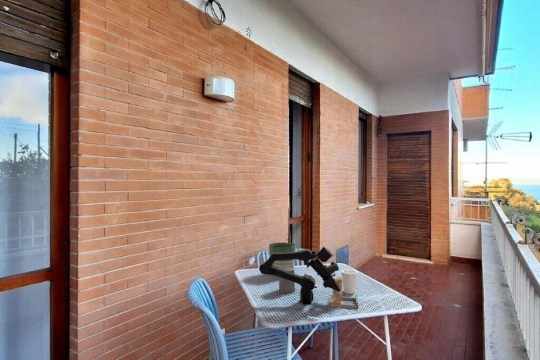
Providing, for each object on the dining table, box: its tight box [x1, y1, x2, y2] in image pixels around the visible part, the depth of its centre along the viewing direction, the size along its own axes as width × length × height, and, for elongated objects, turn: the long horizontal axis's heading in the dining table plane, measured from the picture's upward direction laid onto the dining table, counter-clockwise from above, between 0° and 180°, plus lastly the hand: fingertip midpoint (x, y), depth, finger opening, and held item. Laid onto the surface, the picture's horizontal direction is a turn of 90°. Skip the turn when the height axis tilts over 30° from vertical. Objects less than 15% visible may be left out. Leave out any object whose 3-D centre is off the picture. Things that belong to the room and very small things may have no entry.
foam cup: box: [341, 269, 359, 295], centre depth 191 cm, size 10×9×13 cm
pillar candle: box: [278, 267, 296, 294], centre depth 197 cm, size 10×10×15 cm
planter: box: [268, 242, 297, 269], centre depth 232 cm, size 20×20×21 cm
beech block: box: [332, 275, 343, 302], centre depth 174 cm, size 5×5×12 cm
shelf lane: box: [326, 294, 359, 309], centre depth 173 cm, size 16×12×4 cm
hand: (340, 289), depth 173 cm, fingers closed on beech block, 5 cm apart
